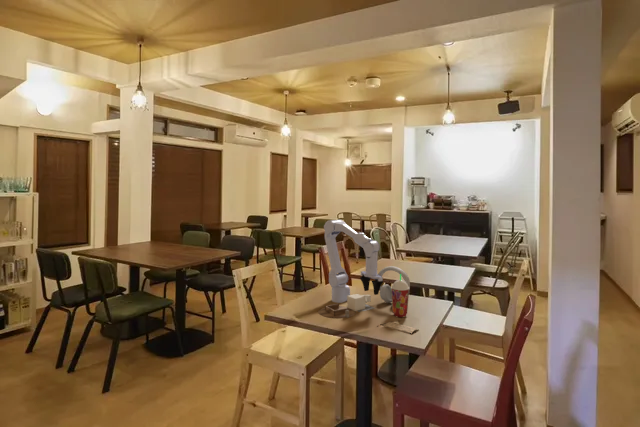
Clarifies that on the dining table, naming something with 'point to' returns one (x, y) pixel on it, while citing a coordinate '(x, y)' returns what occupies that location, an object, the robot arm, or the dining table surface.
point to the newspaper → (399, 327)
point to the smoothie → (400, 298)
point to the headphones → (386, 289)
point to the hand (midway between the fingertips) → (371, 292)
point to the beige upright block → (357, 301)
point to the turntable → (336, 311)
